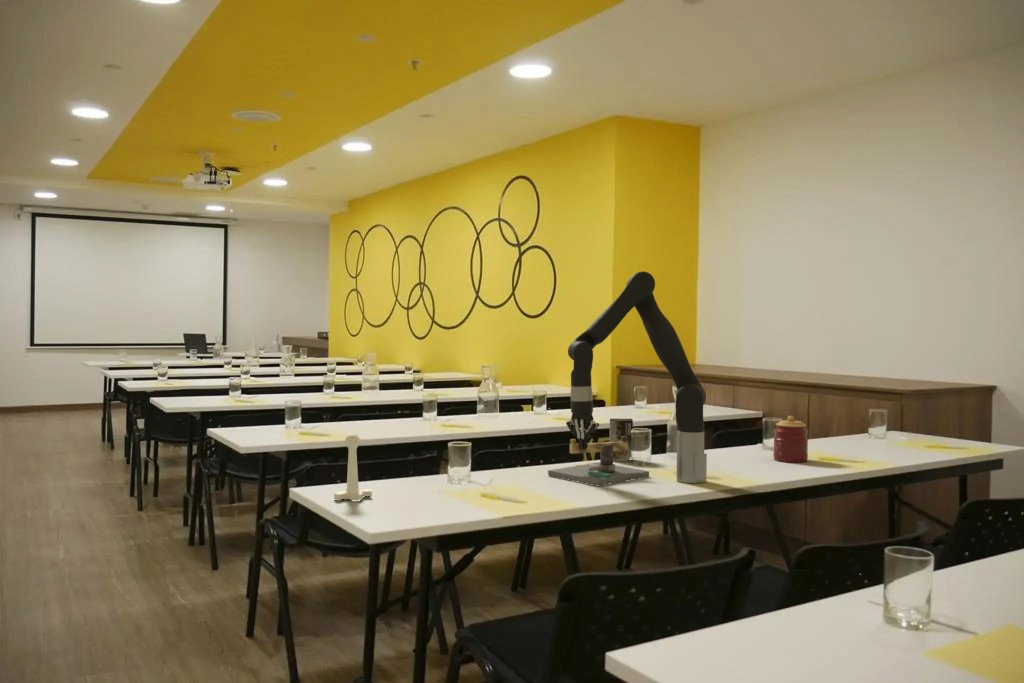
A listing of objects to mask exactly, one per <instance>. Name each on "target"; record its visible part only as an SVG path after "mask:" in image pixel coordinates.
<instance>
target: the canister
mask: <svg viewBox="0 0 1024 683" xmlns="http://www.w3.org/2000/svg"><path fill="white" fill-rule="evenodd" d="M775 426H776V428H774V429H773V432H774V437H773V459H774V460H775V461H777V462H781V463H794V464H795V463H796V464H797V463H798V464H799V463H806V462H808V459H809V457H808V456H809V454H808V453H809V452H808V449H809V448H808V446H809V444H808V443H809V438H808V433H809V430H808V429H807V428H806V426H807V424H806V423H804V422H803V421H801V420H795V416H794V415H789V416H788V417H787V419H786V420H785V419H784V420H783V419H782V420H780V421H778V422H776V423H775ZM774 460H773V461H774Z"/></svg>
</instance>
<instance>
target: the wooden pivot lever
mask: <svg viewBox="0 0 1024 683" xmlns="http://www.w3.org/2000/svg"><path fill="white" fill-rule="evenodd" d="M569 442H570V443H569V454H572V455H573V454H589V453H590V454H591V453H599V454H600V460H599V462H600V463H598V462H592V463H588V464H589V471H595V470H597V471H599V472H604V473H610V472H614V471H615V465H616V464H614V461H613V451H624V450H628V442H627V436H622V437H621V441H619V442H610V441H605V442H603V441H602V442H590V443H589V442H588V447H587V449H586V450H580V448H579V443H577V439H576V438H571V439H570V440H569Z"/></svg>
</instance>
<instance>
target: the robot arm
mask: <svg viewBox="0 0 1024 683" xmlns="http://www.w3.org/2000/svg"><path fill="white" fill-rule="evenodd" d="M655 289H656V280H655V278H654V275H653V274H651V273H649V272H647V271H638V272H636V273H633V274H632V275H631V277H629V279H628V280H627V282H626V285H625V287H624V289H623V291H622V292H621V293H620V294H619V295H618V297H617V298H616V299H615V300H614V301H613V302H612V303H611V304H610V305H609V306H608V307H606V309H605V310H604V311H602V313H601V314H599V315H598V317H597V318H596V319H595V320H594V321H593V322H592V323H591V324H590V325H589V327H588V328H587V329H586V330H585V331H583V332H582V333H581V334H580V335H579V336H577V337H576V338H575V339H574V340H573V341H572V342H571V343H570V345H569V346H568V348H567V354H568V357H569V358H570V359H571V360H572V361H573V369H572V370H571V372H570V413H571V414H572V415H571V417H570V419H569V421H566V426H567V428H568V429H569V432H571V434H572V436H573V437H576V438H577V439H578V444H579V448H580V450H586V449H587V447H588V443H589V442H588V439H589V438H592V437H593V435H594V434H595V433H596V431H597V429H598V428H599V427H600V423H599V422H596V421H595V419H594V416H593V414H594V413H593V412H594V405H593V404H594V403H593V402H594V401H593V388H592V387H593V386H592V368H593V361H594V349H595V347H596V346H597V345H599V344H600V345H601V344H603V342H604V341H605V340H606V339H607V338H608V337H609V336H610V335H611V334H612V333H613V332H614V330H615V329H617V327H618V325H620V324H621V322H622V320H624V318H625V317H626V316H627V315H628V314H629V313H630V311H631V310H632V309H633V308H635V310H636V312H637V313H638V315H639V317H640V318H641V322H642V324H643V327H644V329H645V331H646V334H647V336H648V339H649V341H650V343H651V345H652V347H653V349H654V352H655V354H656V356H657V358H658V359H659V361H660V362H661V363H662V365H663V366H664V367H665V369H667V371H668V372H669V374H670V376H671V378H672V380H673V382H674V384H675V387H676V389H677V392H676V394H675V422H676V481H677V482H679V483H686V484H701V483H706V482H707V470H708V469H707V464H708V462H707V460H708V458H707V453H705V421H704V404H705V403H706V401H707V400H706V399H707V397H706V391H705V389H704V387H703V386H702V385H701V382H700V381H699V380H698V378H697V376H696V374H695V372H694V371H693V369H692V366H691V365H690V362H689V360H688V357H687V354H686V352H685V350H684V347H683V344H682V342H681V340H680V337H679V336H678V333H677V332H676V329H675V328H674V326H673V324H672V323H671V322H670V320H669V319H668V318H667V317H666V316H665V314H664V313H663V312H662V311H661V309H660V307H659V305H658V303H657V301H656V298H655V295H654V291H655Z"/></svg>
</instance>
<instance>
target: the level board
mask: <svg viewBox="0 0 1024 683" xmlns="http://www.w3.org/2000/svg"><path fill="white" fill-rule="evenodd" d="M597 463H600V461H598V462H597ZM589 464H590V463H588V464H587V463H586V464H576V465H574V466H568V467H562V468H554V469H549V470H547V476H548V475H549V476H548V477H550V476H554V477H553V478H555V477H559V478H558V479H560V478H564V479H563V480H565V479H569V480H574V481H579V482H583V483H582V484H584V483H588V484H587V485H589V484H593V485H603V486H605V485H604V484H608V485H610V484H609V483H614V484H616V483H615V482H619V483H622V482H621V481H625V482H627V481H626V480H630V481H632V480H631V479H635V480H639V478H641V479H644V478H649V477H650V471H649V470H644V469H639V468H632V467H627V466H621V465H616V464H614V465H615V471H614V472H610V473H604V472H599V471H597V470H595V471H589ZM569 480H568V481H569ZM574 481H573V482H574ZM579 482H578V483H579ZM593 485H592V486H593Z"/></svg>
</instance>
